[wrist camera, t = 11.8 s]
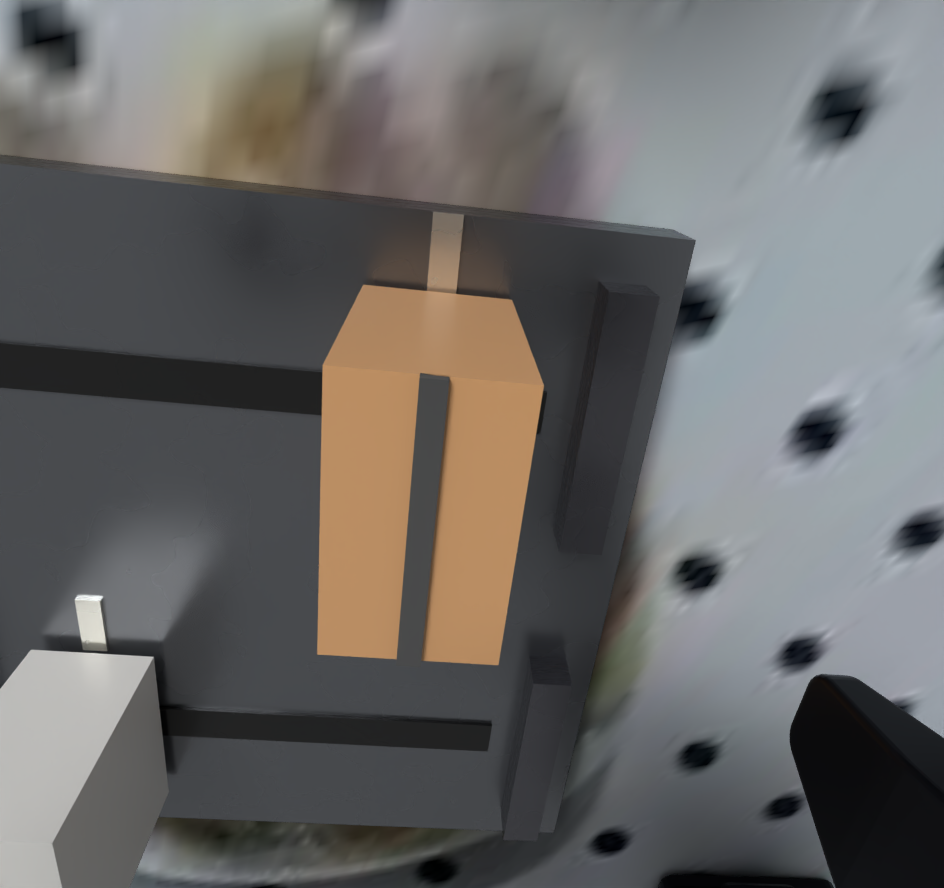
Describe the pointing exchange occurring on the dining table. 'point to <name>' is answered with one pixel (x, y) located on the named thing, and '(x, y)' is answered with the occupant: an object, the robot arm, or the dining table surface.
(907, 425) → the dining table surface
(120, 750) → the fader
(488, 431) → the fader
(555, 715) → the grey slider panel
